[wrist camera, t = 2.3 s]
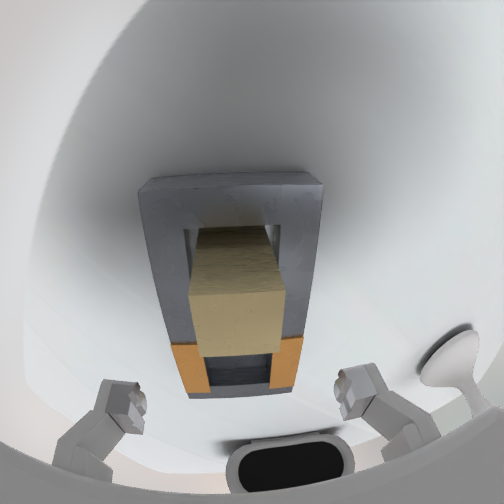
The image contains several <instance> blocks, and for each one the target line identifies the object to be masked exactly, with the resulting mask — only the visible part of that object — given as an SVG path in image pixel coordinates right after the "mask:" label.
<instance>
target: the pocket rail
mask: <svg viewBox="0 0 504 504" xmlns="http://www.w3.org/2000/svg"><path fill="white" fill-rule="evenodd" d="M323 187H324V185H323V184H322V183H320V182H319V181H318V180H317V179H316V178H314V177H313V176H312V175H311V174H310V173H308V172H242V173H216V174H198V175H184V176H171V177H160V178H151V179H150V180H149V181H148V182H147V183H146V184H145V185H144V186H143V187H142V189H141V190H140V191H139V192H138V197H139V204H140V210H141V217H142V222H143V228H144V234H145V239H146V244H147V249H148V254H149V259H150V264H151V269H152V273H153V277H154V282H155V286H156V290H157V294H158V298H159V302H160V306H161V310H162V314H163V318H164V321H165V325H166V328H167V332H168V335H169V339H170V342H171V348H172V351H173V355H174V358H175V361H176V364H177V367H178V370H179V373H180V376H181V379H182V382H183V385H184V387H185V390H186V393H187V394H188V396H189V399H207V398H234V397H250V396H262V395H272V394H281V393H289V392H292V388H293V386H294V382H295V378H296V373H297V368H298V364H299V359H300V354H301V349H302V344H303V339H304V337H303V333H304V328H305V322H306V317H307V311H308V305H309V299H310V292H311V286H312V279H313V272H314V265H315V258H316V251H317V243H318V235H319V226H320V217H321V208H322V198H323ZM255 225H264V226H265V229H266V232H267V235H268V238H269V241H270V244H271V247H272V250H273V253H274V256H275V259H276V262H277V265H278V268H279V271H280V274H281V277H282V280H283V283H284V286H285V289H286V295H285V305H284V315H283V325H282V334H281V344H280V352H277V353H266V354H254V355H239V356H219V357H200V354H199V350H198V345H197V340H196V335H195V330H194V325H193V320H192V314H191V309H190V303H189V297H188V294H189V287H190V280H191V273H192V267H193V260H194V254H195V248H196V242H197V236H198V230H199V228H210V227H231V226H255Z"/></svg>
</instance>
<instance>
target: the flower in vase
mask: <svg viewBox="0 0 504 504" xmlns="http://www.w3.org/2000/svg"><path fill="white" fill-rule="evenodd" d="M478 348H479V335H478V333H477V332H476V331H473V330H467V331H464V332H462V333H460V334H458V335H456V336H454V337H453V338H451V339H450V340H448V341H447V342H446V343H445V344H443V345H442V346H441V347H440V348H439V349H438V350H437V351H436V352H435V353H434V354H433V355H432V356H431V358H430V359H429V360H428V361H427V363H426V364H425V365H424V367H423V369H422V371H421V375H420V381H421V383H423V384H424V385H425V386H430V387H455V388H457V389H459V390H460V391H461V392H462V393H463V395H464V396H465V398H466V400H467V402H468V404H469V406H470V409H471V413H472V419H473V418H474V417H476V416H477V415H479V414H480V413H482V412H483V411H484V410H486V409H487V408H489V407H491V406H496V405H493V404H491V403H490V402H489V401H487V399H485V397H484V396H483V395H482V394H481V392H480V391H479V389H478V388H477V386H476V384H475V382H474V379H473V368H474V364H475V360H476V357H477V353H478ZM497 407H500V406H497Z"/></svg>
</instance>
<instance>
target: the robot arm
mask: <svg viewBox="0 0 504 504" xmlns="http://www.w3.org/2000/svg"><path fill="white" fill-rule="evenodd" d="M338 376H339V378H338V379H337V380H336V381H335V384H334V394H335V398H336V400H337V401H338V402H339V403H341V406H340V408H339V409H340V412H341V415H342V418H343V421H346V420H350V419H355V418H359V417H361V418H362V419H363V420H365V421H366V422H367V423H368V424H369V425H370V426H372V427H373V428H374V429H375V430H376V431H378V432H379V433H380V434H381V435H382V436H384V437H385V438H386V439H387V440H388V441H389V442H388V443H387V444H386V445H385V446H384V447H383V448H382V450H381V452H382V456H383V458H384V461H385V463H383V464H380V465H377V466H374V467H372V468H369V469H366V470H363V471H359V472H356V473H353V474H350V475H346V476H343V477H339V478H335V479H331V480H327V481H323V482H318V483H314V484H309V485H304V486H298V487H292V488H286V489H279V490H271V491H263V492H252V493H236V494H191V493H175V492H174V493H173V492H164V491H155V490H148V489H141V488H135V487H129V486H124V485H119V484H114V483H112V474H113V470H112V469H111V468H110V467H109V466H108V465H106V464H105V463H104V462H103V461H104V459H105V458H106V457H107V456H108V454H109V453H110V452H111V451H112V449H113V448H114V447H115V446H116V444H117V443H118V442H119V441H120V440H121V438H122V437H123V436H124V435H125V433H130V434H141V435H143V431H144V424H145V421H144V420H143V418H142V416H143V415H144V414H145V413H146V409H147V402H146V397H145V395H144V393H143V392H142V391H140V385H139V384H138V382H127V381H116V380H108V379H104V380H103V381H102V382H101V385H100V389H99V392H98V396H97V399H96V403H95V406H94V410H93V411H92V410H90V411H89V412H88V413H87V414H86V415H85V416H84V417H83V418H81V419H80V420H79V421H78V422H77V423H76V424H75V425H74V426H73V427H72V428H70V429H69V430H68V431H67V432H66V433H65V434H64V435H63V436H62V437H61V438H59V440H58V442H57V446H56V450H55V454H54V458H53V462H52V465H50V464H48V463H45V462H43V461H40V460H38V459H36V458H33V457H31V456H29V455H26V454H24V453H22V452H20V451H18V450H16V449H14V448H11V447H10V446H8V445H6V444H4V443H2V442H0V504H504V409H502V408H500V407H497V406H491V407H489V408H487V409H486V410H484V411H483V412H482V413H480V414H479V415H477V416H476V417H474V418H473V419H471V420H469V421H468V422H466V423H465V424H463V425H462V426H460V427H458V428H456V429H455V430H453V431H451V432H450V433H448V434H446V435H444V436H442V437H441V435H440V432H439V430H438V428H437V427H436V424H435V422H434V421H433V418H432V417H431V415H430V414H429V413H427V412H426V411H424V410H422V409H421V408H419V407H418V406H416V405H414V404H413V403H411V402H409V401H408V400H406V399H405V398H403V397H401V396H400V395H398V394H397V393H395V392H394V391H389V390H388V388H387V386H386V384H385V382H384V380H383V378H382V376H381V374H380V372H379V370H378V368H377V366H376V364H374V363H368V364H364V365H359V366H354V367H350V368H345V369H341V370H340V371H339V373H338Z"/></svg>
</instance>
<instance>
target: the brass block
mask: <svg viewBox="0 0 504 504" xmlns="http://www.w3.org/2000/svg"><path fill="white" fill-rule="evenodd" d="M285 295H286V289H285V286H284V283H283V280H282V277H281V274H280V271H279V268H278V265H277V262H276V259H275V256H274V253H273V250H272V247H271V244H270V241H269V238H268V235H267V232H266V229H265V226H264V225H255V226H231V227H210V228H199V230H198V236H197V242H196V248H195V254H194V260H193V267H192V273H191V280H190V287H189V294H188V297H189V303H190V309H191V314H192V320H193V325H194V330H195V335H196V340H197V345H198V350H199V354H200V357H219V356H239V355H254V354H266V353H277V352H280V344H281V334H282V325H283V315H284V305H285Z"/></svg>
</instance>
